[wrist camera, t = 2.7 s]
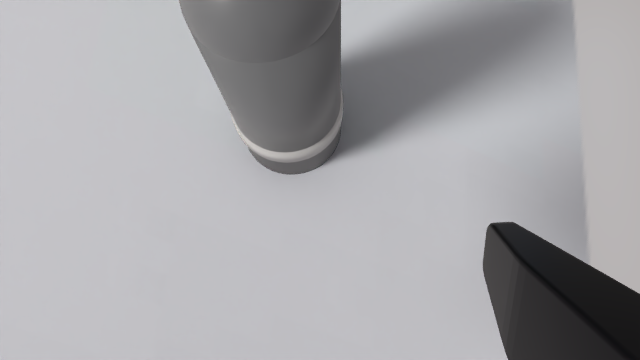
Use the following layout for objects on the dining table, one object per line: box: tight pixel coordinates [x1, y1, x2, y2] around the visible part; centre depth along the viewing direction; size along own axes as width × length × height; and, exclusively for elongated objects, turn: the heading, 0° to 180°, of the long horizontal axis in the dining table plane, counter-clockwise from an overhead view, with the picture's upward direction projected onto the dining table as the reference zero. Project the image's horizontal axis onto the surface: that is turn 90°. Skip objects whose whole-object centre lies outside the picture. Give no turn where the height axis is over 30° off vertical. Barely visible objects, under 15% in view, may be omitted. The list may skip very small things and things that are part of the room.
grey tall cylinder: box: [179, 0, 343, 174], centre depth 18 cm, size 5×5×12 cm
